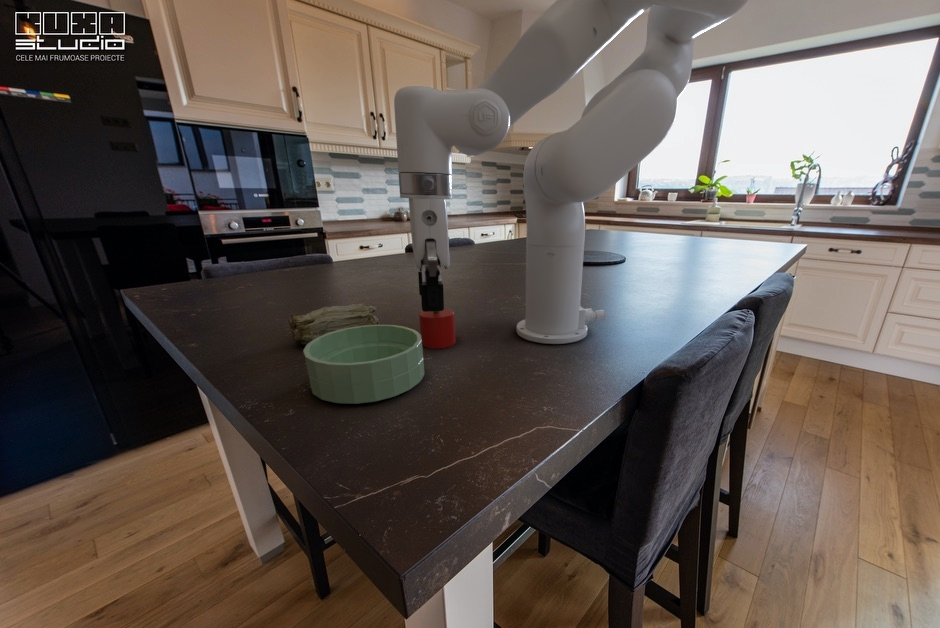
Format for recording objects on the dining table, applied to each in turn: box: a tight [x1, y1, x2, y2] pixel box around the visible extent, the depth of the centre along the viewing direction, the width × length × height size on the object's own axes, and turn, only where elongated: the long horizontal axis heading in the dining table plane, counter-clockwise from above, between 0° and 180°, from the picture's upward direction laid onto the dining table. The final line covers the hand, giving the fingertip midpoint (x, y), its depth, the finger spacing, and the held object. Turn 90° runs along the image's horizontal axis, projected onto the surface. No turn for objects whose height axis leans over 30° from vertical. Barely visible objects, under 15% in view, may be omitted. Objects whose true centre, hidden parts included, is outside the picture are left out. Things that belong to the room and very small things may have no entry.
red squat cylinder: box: [418, 307, 456, 350], centre depth 65 cm, size 6×6×6 cm
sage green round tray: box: [302, 324, 426, 405], centre depth 52 cm, size 14×14×6 cm
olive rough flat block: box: [288, 302, 381, 346], centre depth 67 cm, size 14×10×5 cm, turn 129°
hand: (430, 302), depth 63 cm, fingers open, 9 cm apart
